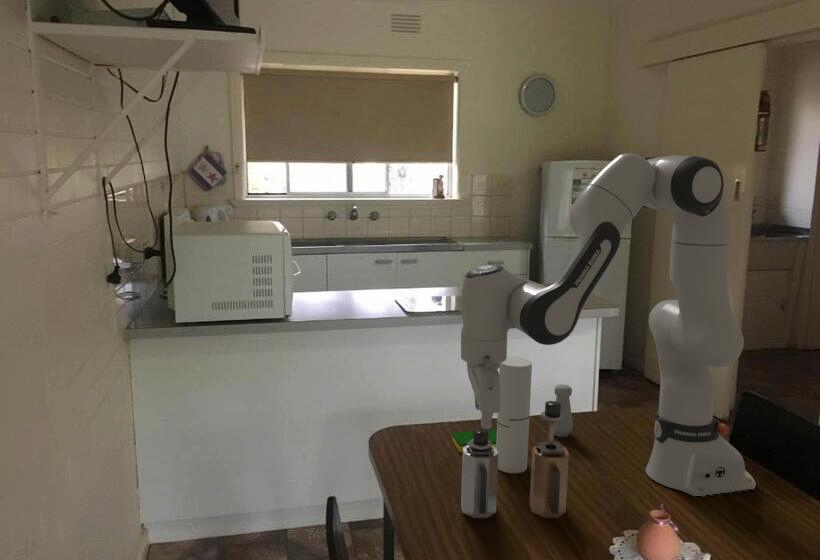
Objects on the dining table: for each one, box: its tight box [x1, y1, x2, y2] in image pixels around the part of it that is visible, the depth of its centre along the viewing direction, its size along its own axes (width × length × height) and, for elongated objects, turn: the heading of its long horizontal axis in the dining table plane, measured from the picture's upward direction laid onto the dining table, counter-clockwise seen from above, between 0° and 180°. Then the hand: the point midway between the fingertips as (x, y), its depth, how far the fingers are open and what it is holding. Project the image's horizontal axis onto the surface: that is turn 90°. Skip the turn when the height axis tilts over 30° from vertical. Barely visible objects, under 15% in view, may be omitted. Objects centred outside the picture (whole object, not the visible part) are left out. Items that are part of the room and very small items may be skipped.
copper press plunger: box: [540, 400, 564, 449], centre depth 131 cm, size 4×4×12 cm
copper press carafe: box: [529, 441, 570, 519], centre depth 132 cm, size 7×9×13 cm
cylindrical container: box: [496, 356, 533, 474], centre depth 150 cm, size 7×7×25 cm
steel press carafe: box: [460, 442, 499, 519], centre depth 131 cm, size 7×9×13 cm
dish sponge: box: [451, 429, 497, 453], centre depth 164 cm, size 7×14×2 cm, turn 101°
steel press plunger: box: [469, 428, 492, 450], centre depth 132 cm, size 4×4×12 cm
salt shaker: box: [554, 384, 574, 438], centre depth 170 cm, size 6×6×13 cm
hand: (482, 417), depth 130 cm, fingers open, 8 cm apart
